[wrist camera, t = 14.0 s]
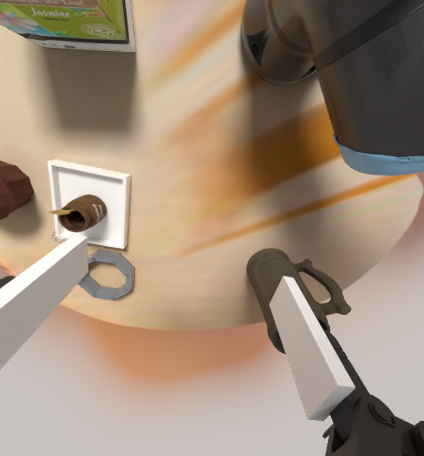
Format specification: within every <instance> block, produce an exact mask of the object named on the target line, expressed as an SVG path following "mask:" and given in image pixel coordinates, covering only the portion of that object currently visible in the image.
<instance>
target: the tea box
mask: <svg viewBox="0 0 424 456" xmlns="http://www.w3.org/2000/svg"><path fill="white" fill-rule="evenodd" d="M0 25H2V26H4V27H6V28H7V29H9V30H11V31H13V32H15V33H17V34H19V35H21V36H23V37H25V38H26V39H28V40H30V41H32V42H34V43H35V44H37V45H39V46H41V47H50V48H65V49H82V50H97V51H117V52H136V48H135V38H134V30H133V20H132V9H131V1H130V0H0Z"/></svg>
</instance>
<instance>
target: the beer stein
mask: <svg viewBox="0 0 424 456" xmlns="http://www.w3.org/2000/svg"><path fill="white" fill-rule="evenodd" d="M301 271H302V272H305V273H307V274H308V275H310V276H312V277H313V278H315V279H316V280H317V281H319V282H320V283H321V284H322V285H323V286H325V288H326V289H327V290H328V291H329V293H330V295H331V300H330V301H329V302H328V303H324V304H320V303H318V302H316V301H315V300H314V298H313V297H312V295H311V294H310V292H309V290H308V289H307V287H306V286H305V284H304V282H303V281H302V279H301V277H300V275H299V274H298V273H299V272H301ZM247 273H248V276H249V278H250V281H251V284H252V286H253V287H254V290H255V293H256V296H257V299H258V301H259V304H260V307H261V309H262V312H263V315H264V318H265V320H266V323H267V331H268V336H269V338H270V340H271V341H272V343H273V345H274V347H275V348H276V349H277V350H278V351H280V352H282V353H284V354H286V353H285V350H284V347H283V344H282V341H281V338H280V335H279V332H278V329H277V326H276V323H275V320H274V317H273V314H272V311H271V308H270V305H269V304H270V302H271V300H272V298H273V296H274V294H275V292H276V290H277V288H278V286H279V284H280V281H281V279H282V277H283V276H286V277H291V278H294V280H295V281H296V283H297V285H298V287H299V288H300V290H301V292H302V294H303V296H304V297H305V299H306V301H307V303H308V304H309V306H310V308H311V310H312V311H313V313H314V315H315V317H316V319H317V320H318V322H319V324H320V326H321V327H322V329H323V330H328V331H329V332H330V326H329V324H328V321H327V318H326V315H330V314H334V313H339V314H342V315H346V314H348V313H349V312H350V310H351V307H349V305H348V304H347V303H346V301H345V300H344V297H343V294H342V291H341V289H340V287H339V285H338V284H337V283H336V282H335V281H334V280H333V279H332V278H331V277H329V276H328V275H326V274H325V273H323V272H321V271H319V270H316V269H315V268H313V267H312V262H311V261H310V260H309V259H306V260H304V261H303V262H302V263H299V264H294V263H291V262H290V260H289V258H288V257H287V255H286V254H285V253H284V252H282V251H280V250H277V249H264V250H261V251H259V252H257V253H256V254H254V255H253V256H252V257H251V258H250V260H249V262H248V265H247Z"/></svg>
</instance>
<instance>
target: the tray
mask: <svg viewBox="0 0 424 456" xmlns="http://www.w3.org/2000/svg"><path fill="white" fill-rule="evenodd" d="M48 169H49V178H50V187H51V195H52V204H53V211H54V210H60V209H62V208H63V207H64V206H66V204H67V203H69V202H70V201H72V200H74V199H76V198H78V197H80V196H83V195H87V194H90V195H95V196H97V197H99V198H100V199H101V200H102V201H103V202H104V203H105V205H106V210H107V211H106V215H105V217H104V218H103V219H102V220H101V221H100V222H98V223H97V224H96V225H94V226H93V227H91V228H89V229H86V230H84V231H82V232H77V233H76V232H71V231H68V230H66V229H65V228H63V229H62V227H63V226H62V225H61V224H60V222H59V220H58V215H57V214H54V221H55V230H56V231H57V230H58V231H57V232H56V236H57V237H56V238H60V237H61V239H69V238H71V237H72V236H73V235H79V236H84V237H87V243H91V244H97V245H103V246H109V247H115V248H121V249H124V248H125V246H126V245H127V244H128V225H129V205H130V184H131V175H130V174H125V173H120V172H115V171H110V170H105V169H101V168H96V167H91V166H86V165H81V164H77V163H72V162H67V161H62V160H57V159H56V160H50V161H48ZM60 226H61V227H60ZM60 228H61V229H62V230H61V229H60ZM60 230H61V231H60ZM59 231H60V232H59ZM58 232H59V233H58ZM62 232H63V233H62ZM66 232H67V233H66ZM69 232H70V233H69ZM61 233H62V234H61ZM65 233H66V234H65ZM68 233H69V234H68ZM72 233H73V234H72ZM60 234H61V235H60ZM64 234H65V235H64ZM71 234H72V236H70V235H71ZM69 236H70V237H69Z"/></svg>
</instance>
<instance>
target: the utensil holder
mask: <svg viewBox="0 0 424 456" xmlns="http://www.w3.org/2000/svg"><path fill="white" fill-rule="evenodd" d="M106 211H107V210H106V205H105V203H104V202H103V201H102V200H101V199H100V198H99V197H97V196H95V195H90V194H87V195H83V196H80V197H78V198H76V199H74V200H72V201H70V202H69V203H67V204H66V206H64V207H63V208H62V209H60V210H54V211H49V212H48V213H52V214H57V215H58V220H59V222H60V224H61V225H62V226H63V227H62V229H63V228H65V229H66V230H68V231H71V232H76V233H77V232H82V231H84V230H86V229H89V228H91V227H93V226H94V225H96V224H97V223H98V222H100V221H101V220H102V219H103V218H104V217H105V215H106ZM60 227H61V226H60ZM60 229H61V228H60ZM62 229H61V230H62ZM61 230H60V231H61ZM55 231H56V230H55ZM55 231H54V232H55ZM57 231H58V230H57ZM57 231H56V232H57ZM60 231H59V232H60ZM56 232H55V233H56ZM59 232H58V233H59ZM62 233H63V232H62ZM62 233H61V234H62ZM66 233H67V232H66ZM66 233H65V234H66ZM69 233H70V232H69ZM69 233H68V234H69ZM53 234H54V233H53ZM61 234H60V235H61ZM65 234H64V235H65ZM72 234H73V233H72ZM72 234H71V235H70V236H72ZM52 236H53V235H52ZM70 236H69V237H70ZM56 237H57V236H56ZM53 238H54V237H53ZM53 238H52V239H53ZM60 238H61V237H60ZM53 240H54V239H53ZM57 240H58V239H57ZM57 240H55V241H57ZM65 240H66V239H65ZM67 240H68V239H67ZM62 241H63V240H62ZM57 242H58V241H57ZM59 243H63V242H59Z"/></svg>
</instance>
